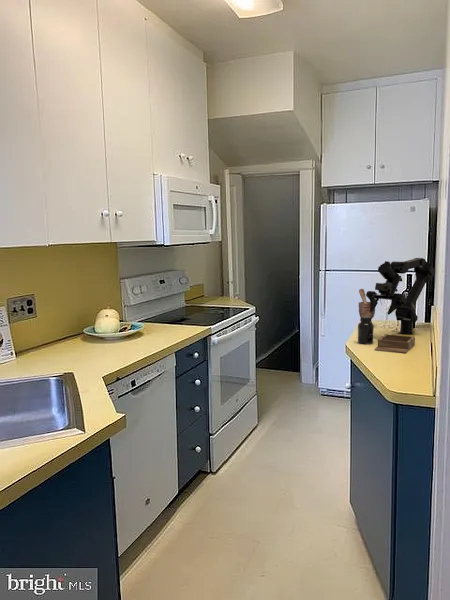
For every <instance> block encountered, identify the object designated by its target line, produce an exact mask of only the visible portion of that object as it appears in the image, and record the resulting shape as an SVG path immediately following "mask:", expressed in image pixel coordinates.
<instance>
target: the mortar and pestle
mask: <svg viewBox="0 0 450 600" xmlns="http://www.w3.org/2000/svg"><path fill="white" fill-rule="evenodd" d="M358 293H359V295H360V298H361V300H362V301H361V302H358V313H359V317H360V318H361V317H364V316H366V317H371V320H372V319H374V316H375V314H376V308H375V309H374V310H373V312H372V313H371V312H370V301H367V298H366V297H367V296H366V293H365V289H364V288H360V289H359V290H358ZM371 323H372V324H373V328H374V327H375V325H374V323H373V322H372V321H371Z"/></svg>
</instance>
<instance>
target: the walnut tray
mask: <svg viewBox="0 0 450 600" xmlns="http://www.w3.org/2000/svg"><path fill="white" fill-rule="evenodd" d="M415 341H416V337H415V336H412V335H411V336H410V335H402V334H401V335H399V334H398V335H397V334H387V333H385V334H383V335H382V336H381V337H379V338H378V339H377V346H376V347H375V348H374V351H376V352H379V351H380V352H387V353H389V352H390V353H397V354H407V353H408V352H409V351H410V350H411V349H412V348H413V347H414V346H415V344H416V342H415Z"/></svg>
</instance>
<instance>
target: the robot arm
mask: <svg viewBox="0 0 450 600" xmlns="http://www.w3.org/2000/svg"><path fill="white" fill-rule="evenodd" d="M412 269H413V271H414V272H415V280H414V282H413V284H412V286H411V287H410V290H409V292H408V294H407V296H406V297H405V295H404V294H403V293H398V286H399V284H400V282H403V277H402V276H401V275H402V274H403V275H404V274H405V275H406V273H408V272H409V270H412ZM377 271H378V273H379V274H380V276H381V277H382V278H383V279H384V280H385V282H383V283H382V282H375V287H374V290H375V291H374V290H373V291H372V290H367V292H366V293H365V297H367V298H368V300H369V302H370V312H371V313H372V312H373V310H374V309H375V310H376V307H377V306H378V303H379V301H380V300H390V301H391V303H390V306H389V308H388V310H387V315H388V316H390V314H392V313H393V312H394V311H395V312H394V314H395V317H396V321H400V328H399V329H400V331H398V332H397V333H398V334H401V335H403V334H404V335H413V334H414V333H415V332H416V331H414V330H413V329H414V323H417V322H418V318H419V317H418V315H417V314H416V306H415V305H416V303H417V301H418V299H419V297H420V295H421V293H422V292H423V289H424V287H425V286H426V284H427V283H429V281H431V280H432V279H433V278H434V276H435V273H436V270H435V268H434V267H433V265H432V264H431V263H429V262H428V261H426V259H425V258H423V257H415V258H413V259H409V260H408V259H407V260H405V261H397V260H396V261H391V262H390V261H386V260H385V261H384V262H383V263H381V264H380V265H379V266H378V268H377ZM399 274H400V275H399ZM376 291H378V293H377V292H376Z"/></svg>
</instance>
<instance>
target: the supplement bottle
mask: <svg viewBox="0 0 450 600" xmlns="http://www.w3.org/2000/svg"><path fill="white" fill-rule="evenodd" d="M359 321H360V322H359V323H358V325H357V342H358V343H359V344H362V345H371V344H373V343H374V327H373V325H374V323H373V322H372V319H371V317H366V316H364V317H360V318H359ZM371 322H372V323H373V324H372V323H371Z"/></svg>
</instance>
